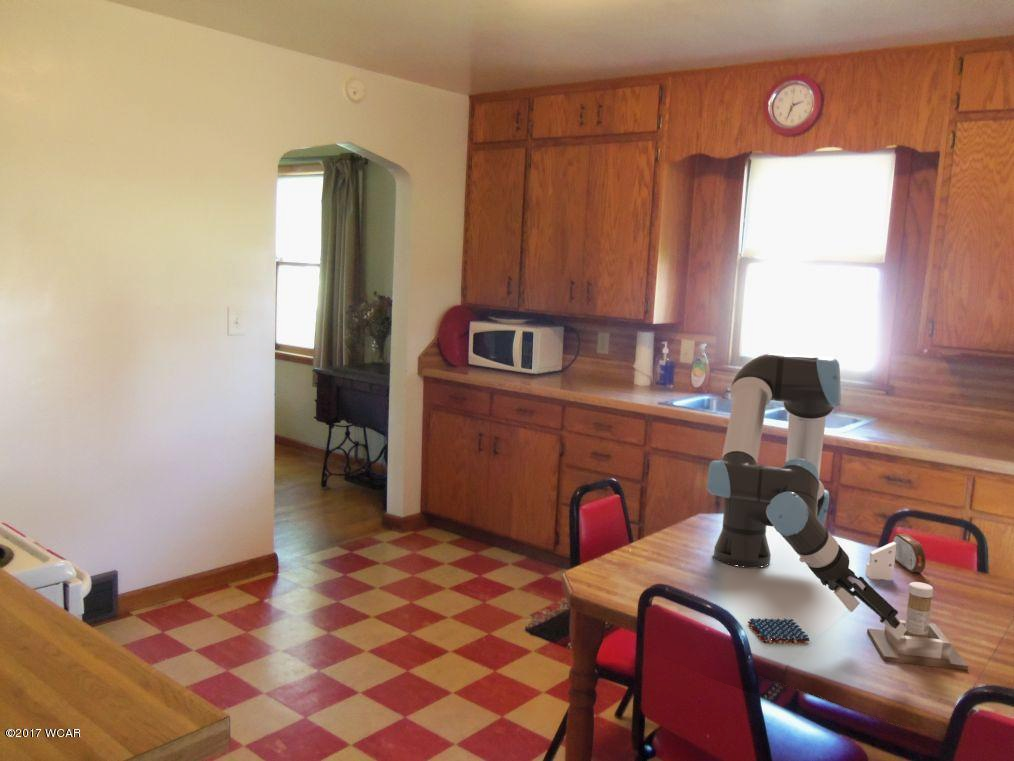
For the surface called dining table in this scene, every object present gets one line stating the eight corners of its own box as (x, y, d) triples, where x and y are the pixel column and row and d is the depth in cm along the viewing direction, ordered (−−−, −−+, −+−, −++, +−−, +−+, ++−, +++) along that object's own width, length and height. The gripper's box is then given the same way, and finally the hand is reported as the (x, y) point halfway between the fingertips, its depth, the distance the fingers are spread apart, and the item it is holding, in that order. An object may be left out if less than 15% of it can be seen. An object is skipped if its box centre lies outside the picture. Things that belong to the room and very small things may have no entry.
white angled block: (910, 572, 217) (896, 543, 216) (874, 588, 218) (860, 559, 218) (905, 567, 221) (891, 539, 220) (870, 583, 222) (856, 555, 221)
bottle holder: (883, 660, 170) (886, 640, 169) (867, 632, 184) (869, 613, 183) (967, 670, 167) (970, 649, 167) (944, 641, 181) (946, 621, 180)
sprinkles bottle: (912, 639, 178) (919, 580, 177) (931, 648, 174) (938, 587, 173) (898, 643, 176) (904, 582, 175) (917, 652, 172) (923, 590, 171)
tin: (925, 577, 221) (928, 546, 220) (913, 576, 221) (916, 546, 220) (899, 558, 236) (902, 529, 235) (888, 557, 236) (891, 529, 235)
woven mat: (745, 625, 186) (746, 616, 186) (791, 626, 187) (792, 617, 187) (761, 646, 176) (762, 637, 176) (810, 646, 177) (811, 637, 176)
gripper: (773, 548, 177) (826, 609, 183) (853, 591, 153) (910, 660, 159) (796, 522, 177) (848, 584, 184) (879, 562, 154) (935, 632, 160)
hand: (877, 620), depth 171 cm, fingers open, 13 cm apart
